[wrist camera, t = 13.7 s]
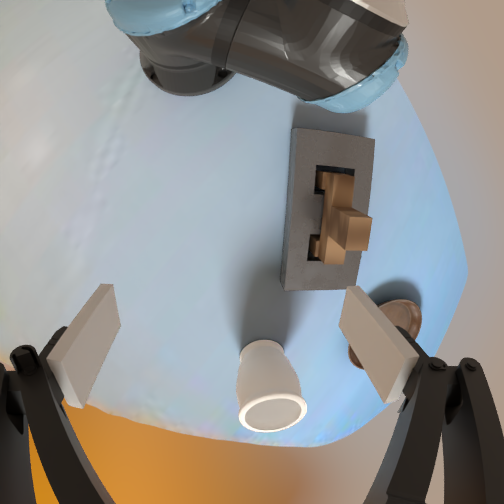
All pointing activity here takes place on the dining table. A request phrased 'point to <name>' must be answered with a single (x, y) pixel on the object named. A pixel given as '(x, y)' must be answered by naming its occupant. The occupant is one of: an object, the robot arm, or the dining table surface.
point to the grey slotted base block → (321, 206)
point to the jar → (268, 388)
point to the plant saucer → (396, 321)
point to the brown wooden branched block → (339, 220)
